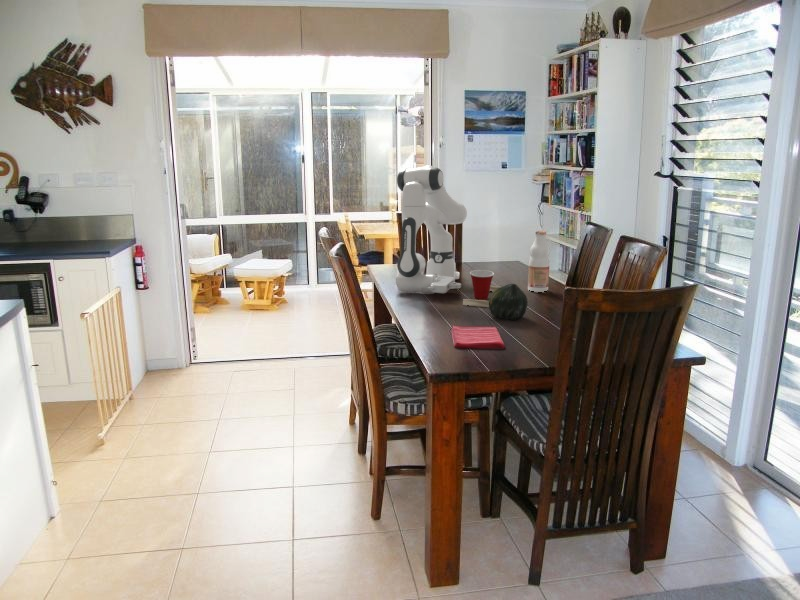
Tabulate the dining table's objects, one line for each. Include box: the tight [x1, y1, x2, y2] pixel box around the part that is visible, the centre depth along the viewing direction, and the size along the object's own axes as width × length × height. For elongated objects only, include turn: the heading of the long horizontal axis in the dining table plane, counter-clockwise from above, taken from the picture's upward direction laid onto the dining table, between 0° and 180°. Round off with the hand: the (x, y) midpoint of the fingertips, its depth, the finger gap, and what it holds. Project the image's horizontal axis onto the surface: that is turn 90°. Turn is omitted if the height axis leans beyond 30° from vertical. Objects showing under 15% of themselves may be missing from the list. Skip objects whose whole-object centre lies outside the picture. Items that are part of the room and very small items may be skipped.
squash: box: [488, 283, 529, 321], centre depth 251 cm, size 14×15×15 cm
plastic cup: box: [469, 269, 495, 301], centre depth 285 cm, size 11×11×12 cm
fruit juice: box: [527, 230, 551, 293], centre depth 299 cm, size 9×9×28 cm
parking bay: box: [462, 285, 501, 308], centre depth 285 cm, size 31×18×2 cm, turn 162°
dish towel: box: [451, 325, 506, 350], centre depth 225 cm, size 17×24×3 cm
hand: (460, 285), depth 289 cm, fingers closed
